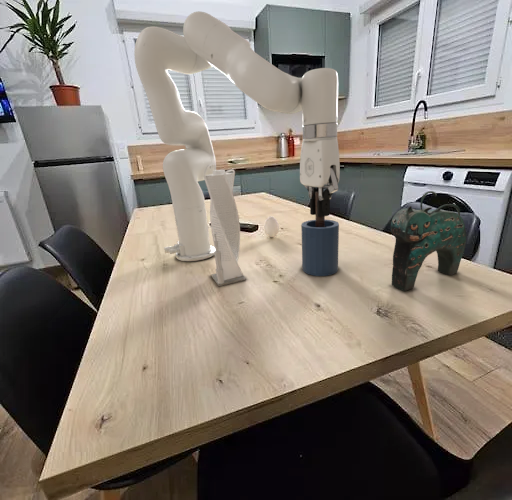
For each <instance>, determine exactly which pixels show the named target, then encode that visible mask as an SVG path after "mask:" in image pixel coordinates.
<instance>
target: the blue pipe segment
mask: <svg viewBox="0 0 512 500" xmlns="http://www.w3.org/2000/svg"><path fill="white" fill-rule="evenodd" d="M300 226H301V260H302V261H301V267H302V272H303V273H305V274H307V275H310V276H316V277H327V276H331V275H334V274H336V273H337V272H338V271H339V237H340V222H338V221H336V220H333V219H325V227H316V226H315V219H310V220H306V221H304V222H302V223H301V225H300Z"/></svg>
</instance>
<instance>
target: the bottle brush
mask: <svg viewBox="0 0 512 500" xmlns="http://www.w3.org/2000/svg"><path fill="white" fill-rule="evenodd" d="M317 200H319V191H317V192H315V215H314V217H315V218H314V220H315V226H316V227H325V220H326V219H325V218H326V216H324V217H318V216H317Z"/></svg>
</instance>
